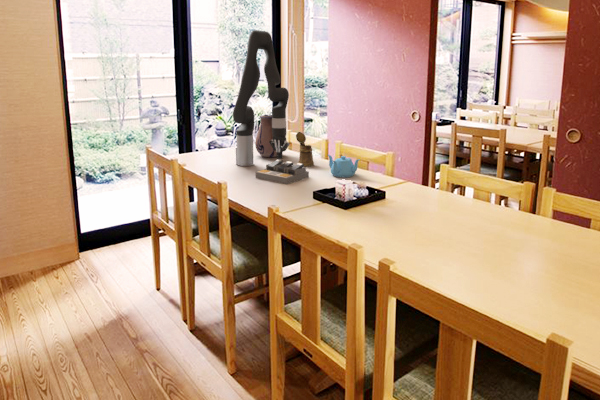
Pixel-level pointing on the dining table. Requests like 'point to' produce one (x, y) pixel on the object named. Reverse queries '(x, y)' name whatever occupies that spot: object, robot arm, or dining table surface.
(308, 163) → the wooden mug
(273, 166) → the rocker
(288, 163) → the rocker
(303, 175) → the switch unit
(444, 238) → the dining table surface
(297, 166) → the rocker
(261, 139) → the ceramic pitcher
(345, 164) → the teapot
